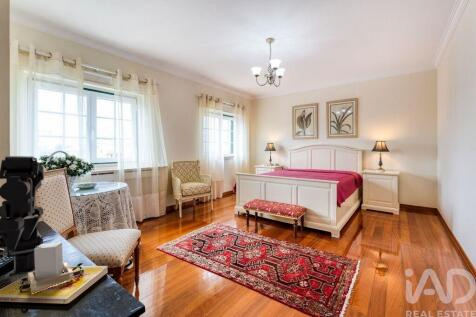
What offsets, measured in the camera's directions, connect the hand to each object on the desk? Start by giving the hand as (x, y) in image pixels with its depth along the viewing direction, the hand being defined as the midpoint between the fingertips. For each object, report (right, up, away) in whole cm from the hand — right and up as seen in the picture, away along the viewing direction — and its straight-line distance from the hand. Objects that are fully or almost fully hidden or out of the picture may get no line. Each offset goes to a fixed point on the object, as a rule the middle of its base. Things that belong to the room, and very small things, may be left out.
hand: (19, 244), depth 69 cm
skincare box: (+7, -13, +3) cm, 15 cm away
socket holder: (+7, -13, +3) cm, 15 cm away
